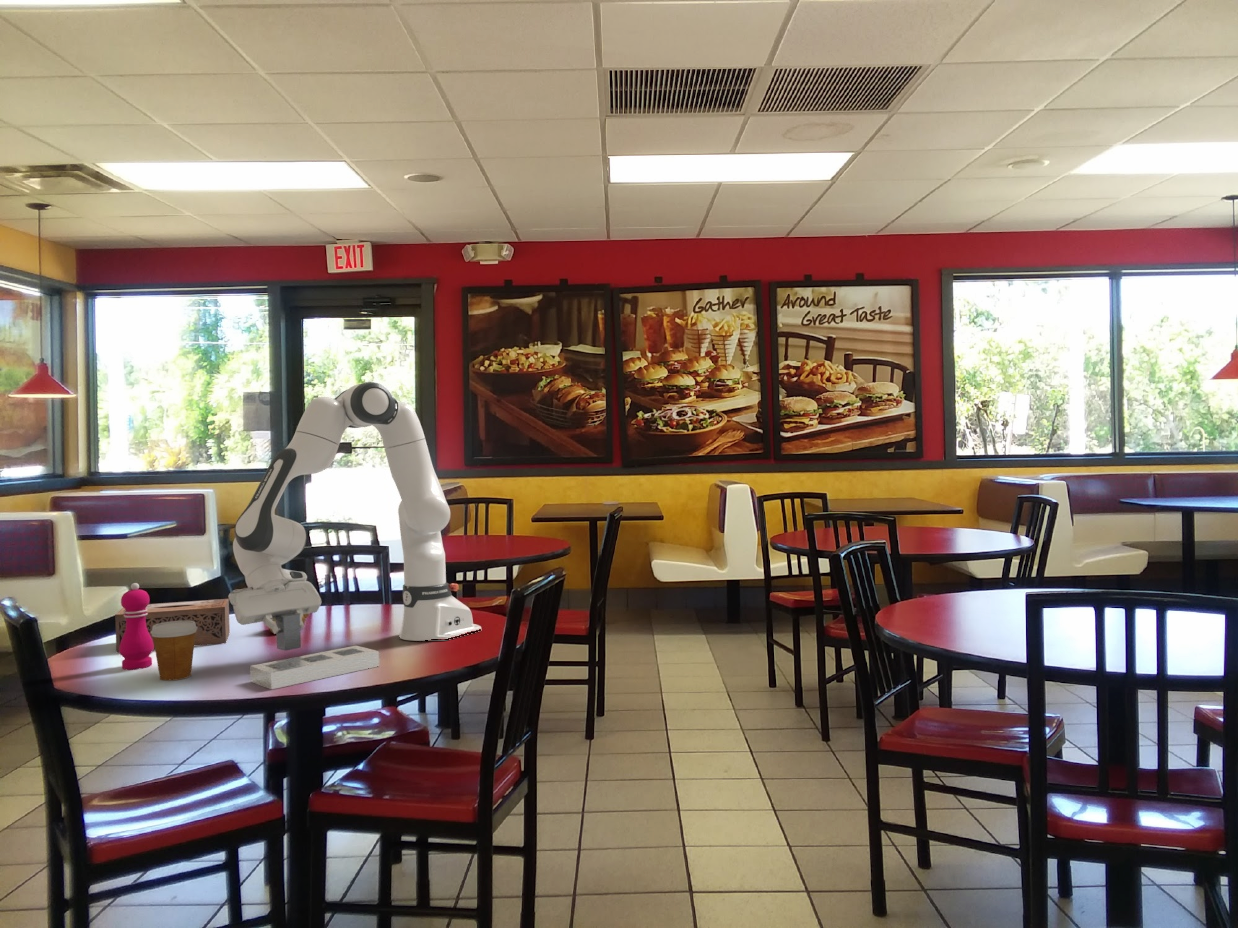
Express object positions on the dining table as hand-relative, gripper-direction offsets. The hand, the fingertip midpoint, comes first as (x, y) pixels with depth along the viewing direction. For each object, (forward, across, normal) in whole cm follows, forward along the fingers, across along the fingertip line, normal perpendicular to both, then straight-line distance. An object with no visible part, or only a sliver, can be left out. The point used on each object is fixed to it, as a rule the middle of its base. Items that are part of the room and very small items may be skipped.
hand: (289, 629), depth 211 cm
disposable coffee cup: (-1, -22, +13) cm, 26 cm away
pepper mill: (-14, -25, +25) cm, 38 cm away
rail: (+15, 0, -3) cm, 16 cm away
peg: (+3, 0, +4) cm, 4 cm away
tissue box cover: (-29, -8, +41) cm, 51 cm away
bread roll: (-23, +19, +35) cm, 46 cm away
